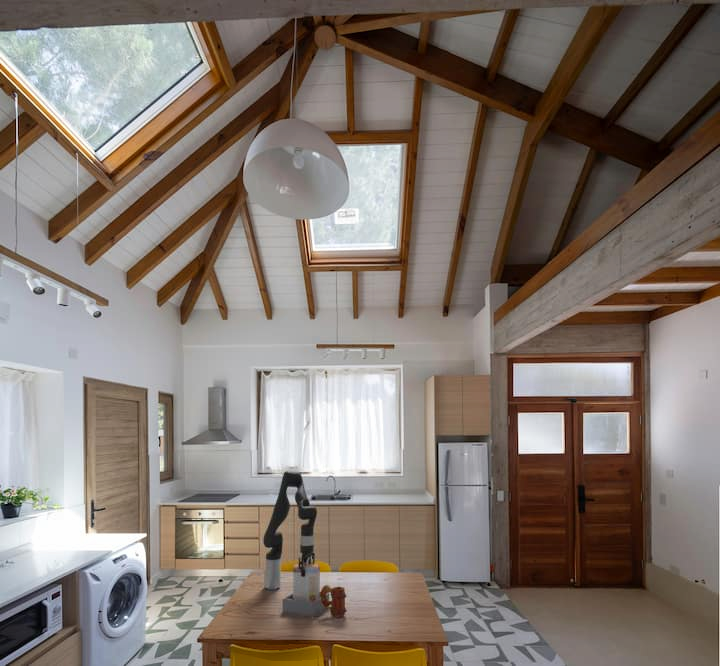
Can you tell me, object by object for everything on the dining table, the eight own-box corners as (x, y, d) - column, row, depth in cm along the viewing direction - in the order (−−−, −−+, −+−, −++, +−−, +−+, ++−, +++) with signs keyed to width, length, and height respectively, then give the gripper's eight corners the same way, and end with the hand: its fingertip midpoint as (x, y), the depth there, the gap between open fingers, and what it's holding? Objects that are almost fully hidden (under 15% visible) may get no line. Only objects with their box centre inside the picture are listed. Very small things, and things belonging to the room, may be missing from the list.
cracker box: (319, 603, 310) (320, 563, 312) (317, 607, 304) (318, 566, 307) (294, 602, 311) (295, 563, 314) (292, 606, 305) (293, 566, 308)
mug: (349, 614, 299) (349, 585, 301) (343, 620, 291) (343, 589, 294) (323, 611, 304) (324, 582, 306) (317, 616, 296) (318, 586, 298)
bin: (282, 612, 303) (282, 598, 304) (300, 601, 319) (300, 588, 320) (312, 617, 295) (312, 603, 296) (329, 606, 311) (329, 593, 312)
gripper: (307, 540, 320) (307, 570, 318) (294, 545, 307) (293, 577, 305) (319, 541, 317) (318, 572, 314) (306, 547, 304) (305, 579, 302)
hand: (306, 574), depth 310 cm, fingers closed on cracker box, 7 cm apart
